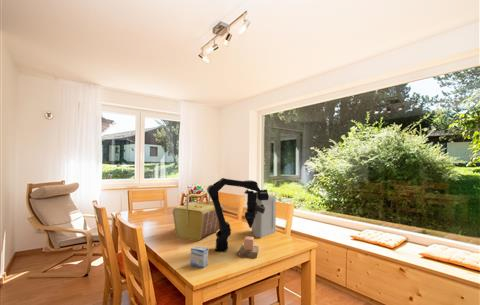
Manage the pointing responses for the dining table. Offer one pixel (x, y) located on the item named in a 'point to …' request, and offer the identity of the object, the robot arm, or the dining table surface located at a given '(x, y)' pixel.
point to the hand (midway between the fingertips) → (251, 225)
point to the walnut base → (248, 252)
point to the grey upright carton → (265, 218)
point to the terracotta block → (248, 243)
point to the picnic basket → (195, 219)
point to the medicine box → (199, 256)
